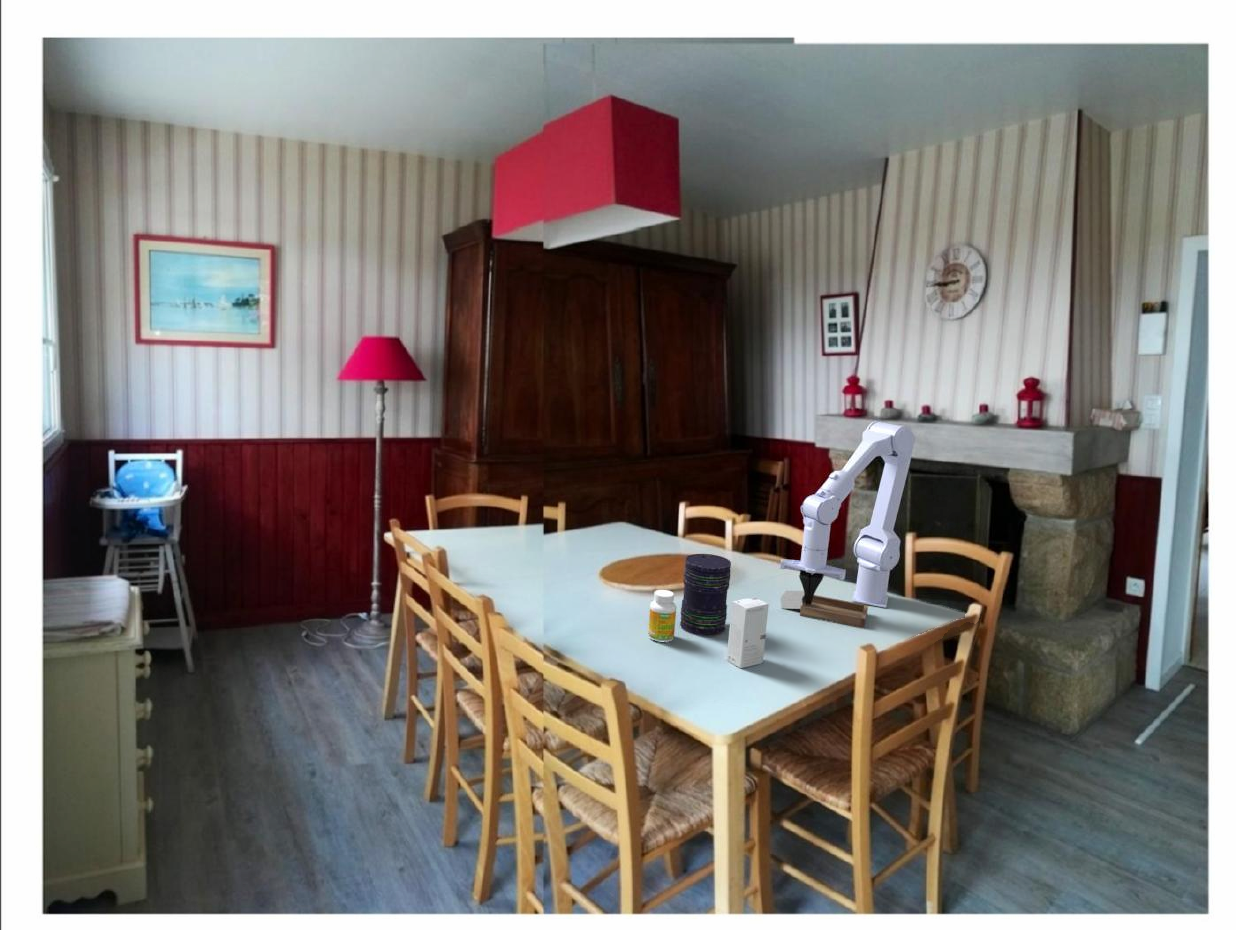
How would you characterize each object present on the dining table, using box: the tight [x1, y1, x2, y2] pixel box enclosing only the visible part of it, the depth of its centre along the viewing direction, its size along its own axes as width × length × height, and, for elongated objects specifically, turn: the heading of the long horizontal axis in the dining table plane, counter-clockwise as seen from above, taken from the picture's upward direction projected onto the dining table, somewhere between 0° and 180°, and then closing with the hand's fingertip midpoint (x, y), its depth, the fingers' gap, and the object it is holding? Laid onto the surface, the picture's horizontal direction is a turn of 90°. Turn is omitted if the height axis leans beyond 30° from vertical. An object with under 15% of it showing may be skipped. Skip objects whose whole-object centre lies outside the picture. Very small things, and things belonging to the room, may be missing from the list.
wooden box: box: [799, 594, 869, 629], centre depth 167 cm, size 10×14×2 cm
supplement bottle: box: [647, 589, 677, 643], centre depth 148 cm, size 5×5×10 cm
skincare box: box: [726, 597, 769, 669], centre depth 139 cm, size 6×4×12 cm
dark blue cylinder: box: [679, 553, 732, 637], centre depth 154 cm, size 10×10×15 cm
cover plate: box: [780, 590, 806, 610], centre depth 171 cm, size 6×5×2 cm
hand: (808, 602), depth 169 cm, fingers closed
